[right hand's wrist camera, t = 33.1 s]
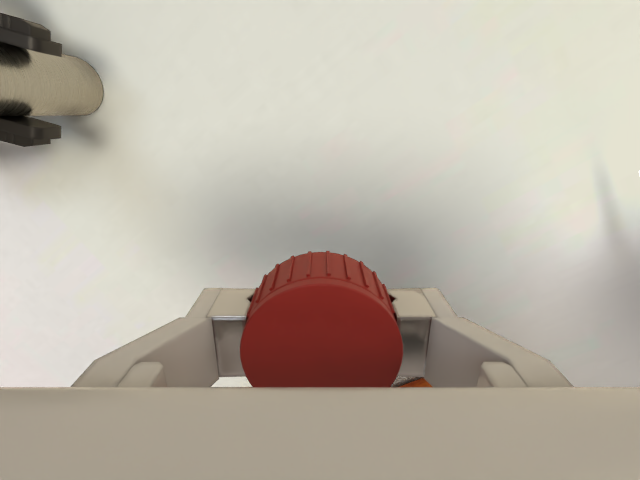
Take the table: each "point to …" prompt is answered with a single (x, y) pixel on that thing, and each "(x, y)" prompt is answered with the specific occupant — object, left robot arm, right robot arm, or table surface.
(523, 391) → the right robot arm
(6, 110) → the bottle
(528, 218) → the table surface
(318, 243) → the table surface
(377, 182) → the table surface
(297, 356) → the cap
